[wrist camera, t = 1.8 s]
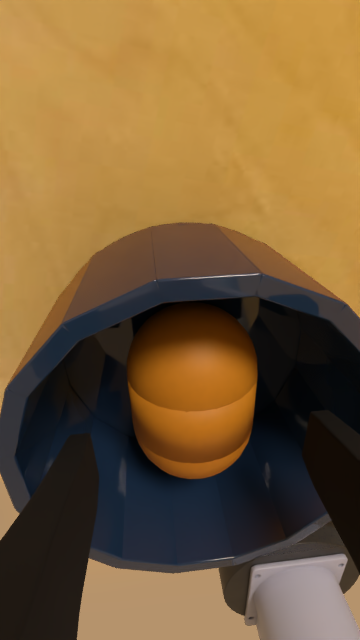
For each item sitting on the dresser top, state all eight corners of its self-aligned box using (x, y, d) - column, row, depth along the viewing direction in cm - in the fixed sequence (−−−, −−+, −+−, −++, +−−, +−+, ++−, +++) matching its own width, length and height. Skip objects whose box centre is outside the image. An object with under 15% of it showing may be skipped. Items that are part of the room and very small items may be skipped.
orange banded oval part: (233, 411, 17) (264, 500, 13) (138, 420, 17) (137, 515, 13) (241, 279, 14) (287, 338, 10) (123, 286, 14) (114, 351, 9)
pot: (290, 431, 19) (353, 551, 13) (77, 453, 18) (46, 590, 13) (326, 215, 14) (460, 261, 8) (23, 229, 13) (-75, 293, 7)
